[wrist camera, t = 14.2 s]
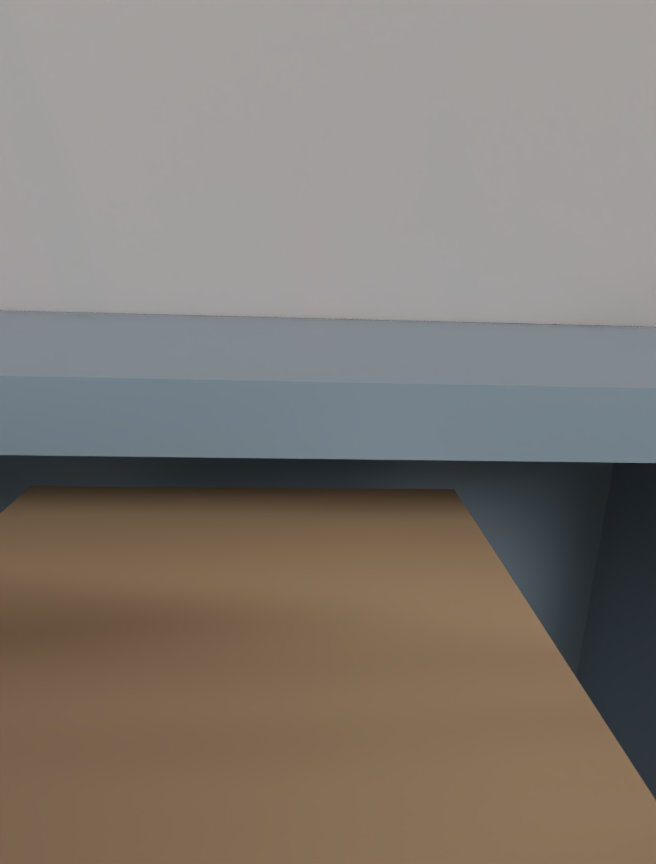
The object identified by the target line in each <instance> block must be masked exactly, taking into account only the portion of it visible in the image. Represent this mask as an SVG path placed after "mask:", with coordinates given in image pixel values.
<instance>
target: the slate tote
mask: <svg viewBox="0 0 656 864" xmlns="http://www.w3.org/2000/svg"><path fill="white" fill-rule="evenodd" d="M30 486H88V487H226V488H364V489H454V490H455V491H456V493H457V494H458V496H459V497H460V499H461V500H462V502H463V504H464V505H465V507H466V508H467V510H468V511H469V513H470V514H471V516H472V517H473V519H474V521H475V522H476V524H477V525H478V527H479V528H480V530H481V531H482V533H483V534H484V536H485V538H486V539H487V541H488V542H489V544H490V545H491V547H492V548H493V550H494V551H495V553H496V554H497V556H498V558H499V559H500V561H501V562H502V564H503V565H504V567H505V568H506V570H507V571H508V573H509V575H510V576H511V578H512V579H513V581H514V582H515V584H516V585H517V587H518V588H519V590H520V591H521V593H522V595H523V596H524V598H525V599H526V601H527V602H528V604H529V605H530V607H531V608H532V610H533V612H534V613H535V615H536V616H537V618H538V619H539V621H540V622H541V624H542V625H543V627H544V629H545V630H546V632H547V633H548V635H549V636H550V638H551V639H552V641H553V642H554V644H555V645H556V647H557V649H558V650H559V652H560V653H561V655H562V656H563V658H564V659H565V661H566V662H567V664H568V666H569V667H570V669H571V670H572V672H573V673H574V675H575V676H576V678H577V679H578V681H579V682H580V684H581V686H582V687H583V689H584V690H585V692H586V693H587V695H588V696H589V698H590V699H591V701H592V703H593V704H594V706H595V707H596V709H597V710H598V712H599V713H600V715H601V716H602V718H603V720H604V721H605V723H606V724H607V726H608V727H609V729H610V730H611V732H612V733H613V735H614V736H615V738H616V740H617V741H618V743H619V744H620V746H621V747H622V749H623V750H624V752H625V753H626V755H627V757H628V758H629V760H630V761H631V763H632V764H633V766H634V767H635V769H636V770H637V772H638V773H639V775H640V777H641V778H642V780H643V781H644V783H645V784H646V786H647V787H648V789H649V790H650V792H651V794H652V795H653V797H654V798H655V800H656V327H639V326H599V325H559V324H519V323H479V322H439V321H398V320H358V319H318V318H278V317H238V316H198V315H158V314H118V313H78V312H38V311H0V513H1V512H2V511H3V510H5V509H6V508H7V507H8V506H9V505H10V504H11V503H12V502H13V501H15V500H16V499H17V498H18V497H19V496H20V495H21V494H22V493H24V492H25V491H26V490H27V489H28V488H29V487H30Z"/></svg>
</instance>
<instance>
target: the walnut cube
mask: <svg viewBox="0 0 656 864" xmlns="http://www.w3.org/2000/svg"><path fill="white" fill-rule="evenodd" d="M0 864H656V800H655V798H654V797H653V795H652V794H651V792H650V790H649V789H648V787H647V786H646V784H645V783H644V781H643V780H642V778H641V777H640V775H639V773H638V772H637V770H636V769H635V767H634V766H633V764H632V763H631V761H630V760H629V758H628V757H627V755H626V753H625V752H624V750H623V749H622V747H621V746H620V744H619V743H618V741H617V740H616V738H615V736H614V735H613V733H612V732H611V730H610V729H609V727H608V726H607V724H606V723H605V721H604V720H603V718H602V716H601V715H600V713H599V712H598V710H597V709H596V707H595V706H594V704H593V703H592V701H591V699H590V698H589V696H588V695H587V693H586V692H585V690H584V689H583V687H582V686H581V684H580V682H579V681H578V679H577V678H576V676H575V675H574V673H573V672H572V670H571V669H570V667H569V666H568V664H567V662H566V661H565V659H564V658H563V656H562V655H561V653H560V652H559V650H558V649H557V647H556V645H555V644H554V642H553V641H552V639H551V638H550V636H549V635H548V633H547V632H546V630H545V629H544V627H543V625H542V624H541V622H540V621H539V619H538V618H537V616H536V615H535V613H534V612H533V610H532V608H531V607H530V605H529V604H528V602H527V601H526V599H525V598H524V596H523V595H522V593H521V591H520V590H519V588H518V587H517V585H516V584H515V582H514V581H513V579H512V578H511V576H510V575H509V573H508V571H507V570H506V568H505V567H504V565H503V564H502V562H501V561H500V559H499V558H498V556H497V554H496V553H495V551H494V550H493V548H492V547H491V545H490V544H489V542H488V541H487V539H486V538H485V536H484V534H483V533H482V531H481V530H480V528H479V527H478V525H477V524H476V522H475V521H474V519H473V517H472V516H471V514H470V513H469V511H468V510H467V508H466V507H465V505H464V504H463V502H462V500H461V499H460V497H459V496H458V494H457V493H456V491H455V490H454V489H364V488H226V487H88V486H30V487H29V488H28V489H27V490H26V491H25V492H24V493H22V494H21V495H20V496H19V497H18V498H17V499H16V500H15V501H13V502H12V503H11V504H10V505H9V506H8V507H7V508H6V509H5V510H3V511H2V512H1V513H0Z"/></svg>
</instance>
